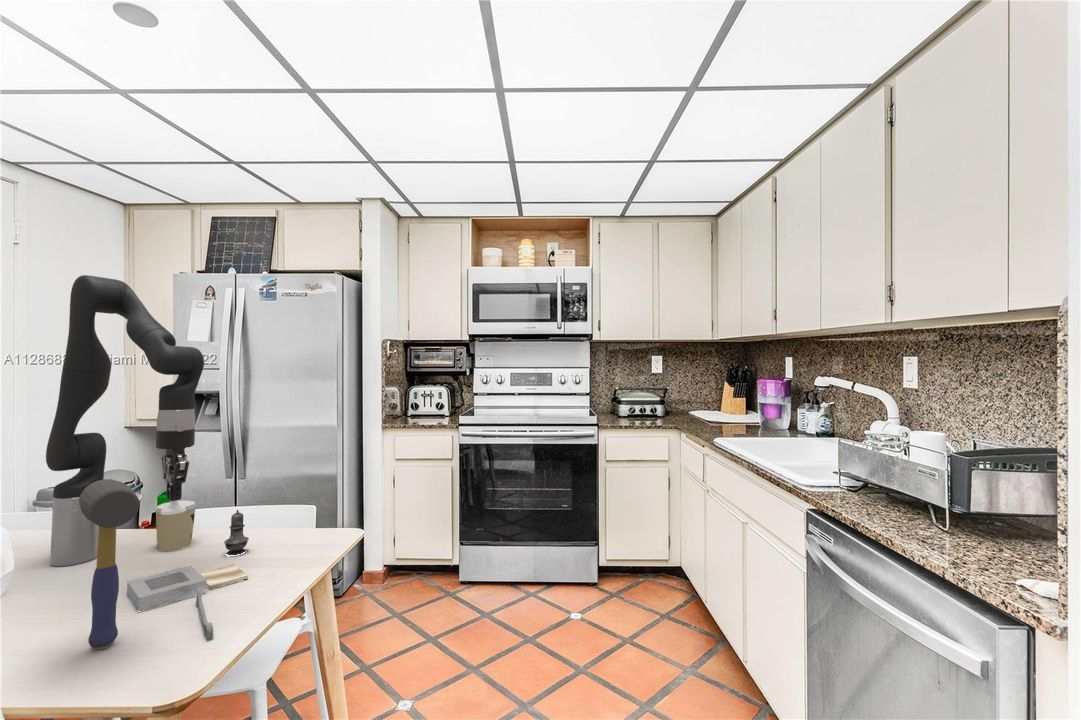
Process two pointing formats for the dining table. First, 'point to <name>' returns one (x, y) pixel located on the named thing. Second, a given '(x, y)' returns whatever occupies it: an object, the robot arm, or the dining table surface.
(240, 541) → the salt shaker
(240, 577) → the birch pad
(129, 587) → the socket block
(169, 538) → the coffee cup
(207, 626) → the combination wrench
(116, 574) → the rubber mallet
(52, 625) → the dining table surface
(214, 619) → the dining table surface
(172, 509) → the chess piece
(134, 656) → the dining table surface
